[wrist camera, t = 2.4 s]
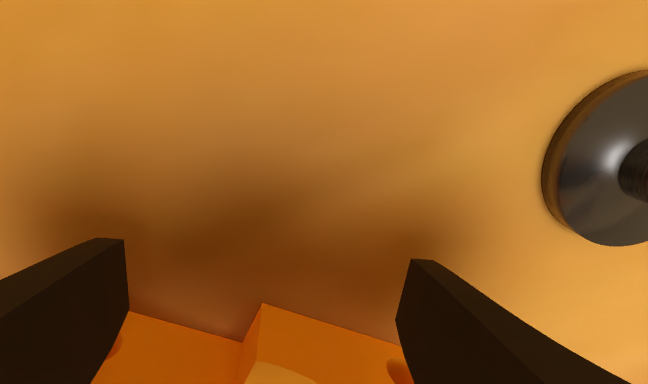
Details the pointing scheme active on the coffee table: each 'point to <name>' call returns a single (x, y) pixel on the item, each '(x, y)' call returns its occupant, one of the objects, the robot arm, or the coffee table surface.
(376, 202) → the coffee table surface
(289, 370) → the pipe clamp
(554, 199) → the ball stud
